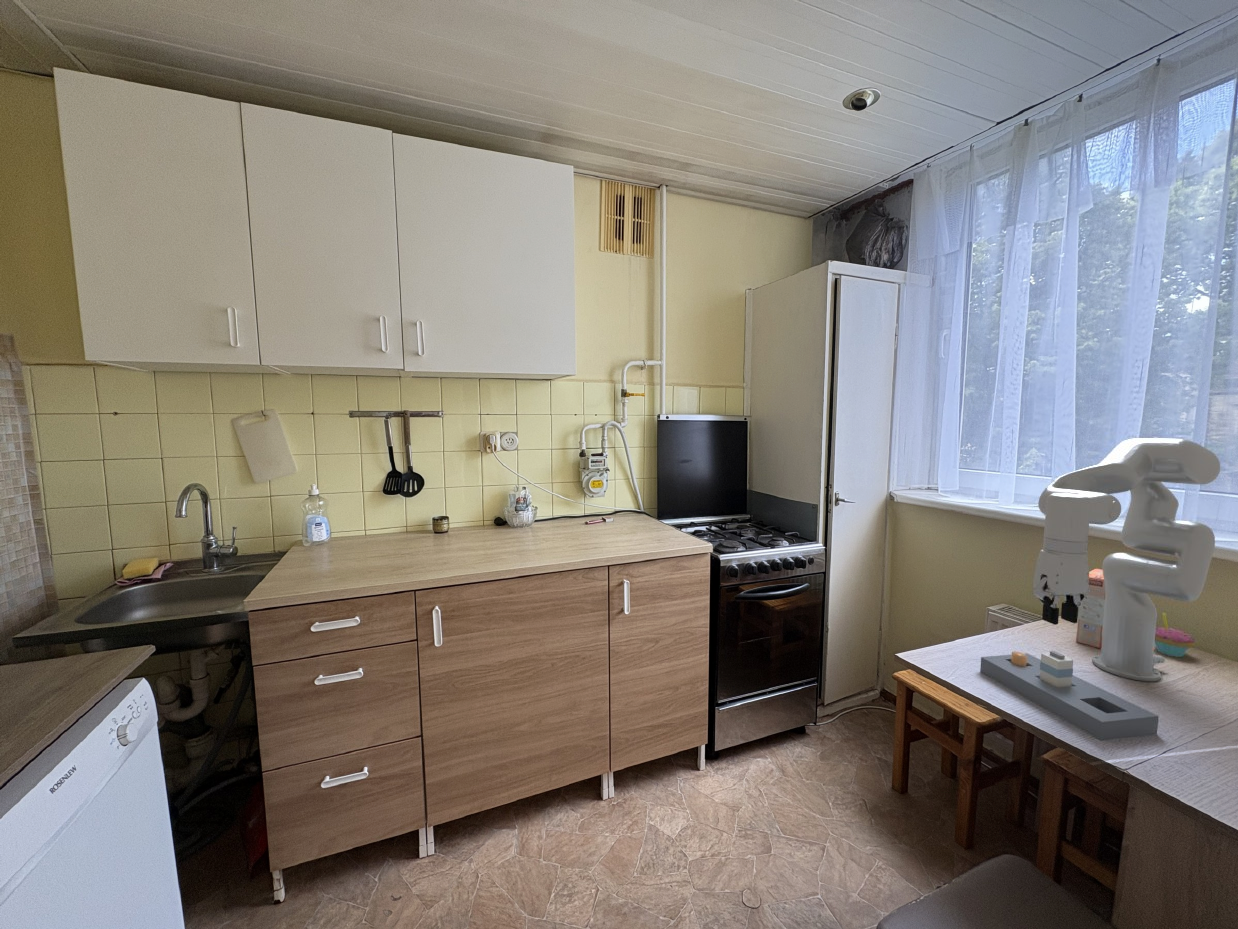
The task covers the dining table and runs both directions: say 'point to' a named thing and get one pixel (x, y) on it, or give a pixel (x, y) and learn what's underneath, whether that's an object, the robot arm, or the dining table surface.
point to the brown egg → (1019, 659)
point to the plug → (1056, 669)
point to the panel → (1073, 700)
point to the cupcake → (1172, 640)
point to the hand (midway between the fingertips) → (1059, 620)
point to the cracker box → (1092, 611)
